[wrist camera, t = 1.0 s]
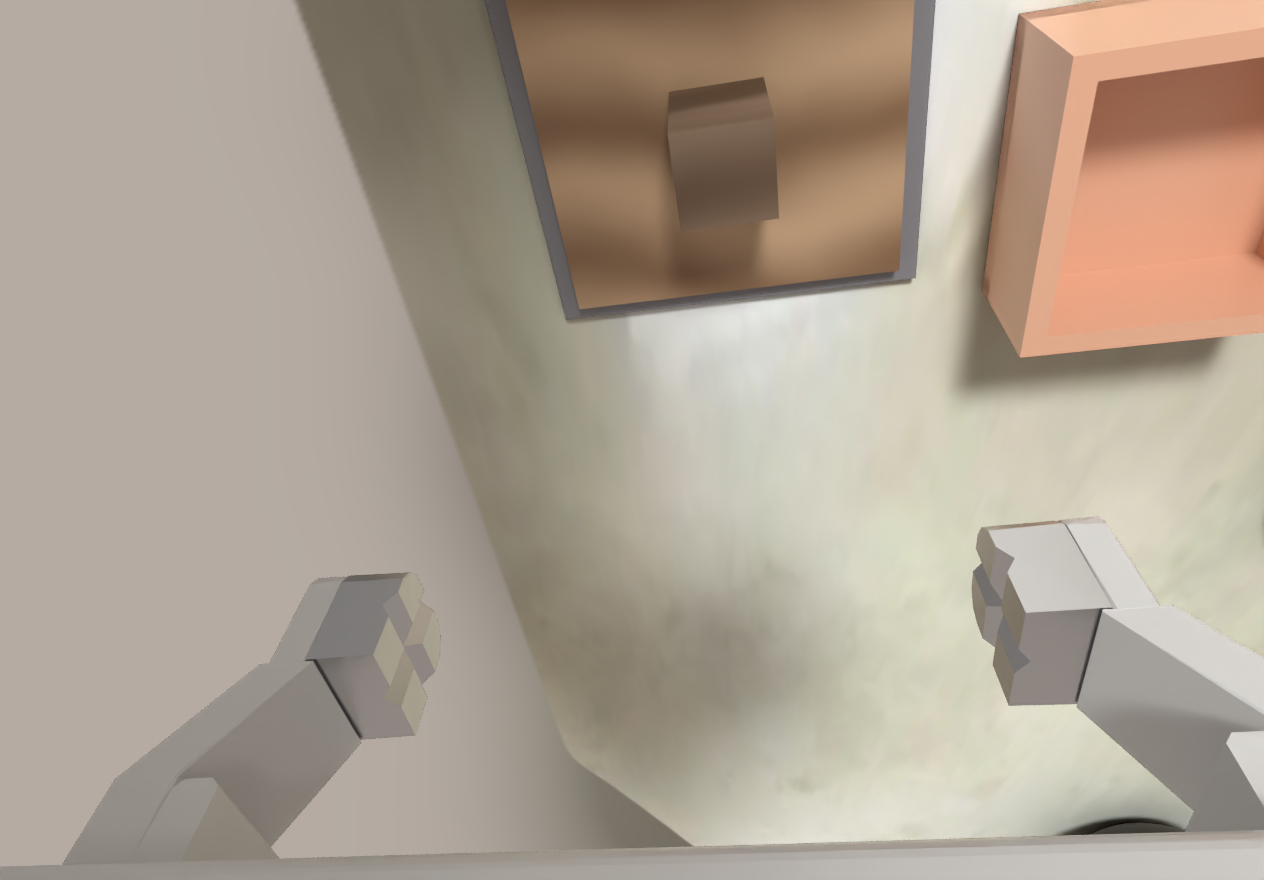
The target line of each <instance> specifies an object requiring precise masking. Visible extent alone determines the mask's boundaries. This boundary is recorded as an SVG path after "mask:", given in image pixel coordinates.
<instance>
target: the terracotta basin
mask: <svg viewBox="0 0 1264 880" xmlns="http://www.w3.org/2000/svg"><path fill="white" fill-rule="evenodd" d="M982 291H983V293H984V295H985V296H986V298H987V300H988V302H989V304H990V305H991V307H992V309H993V311H994V312H995V314H996V316H997V318H998V320H999V321H1000V323H1001V325H1002V327H1003V329H1004V330H1005V332H1006V334H1007V336H1008V337H1009V339H1010V341H1011V343H1012V345H1013V346H1014V348H1015V350H1016V352H1017V354H1018V355H1019V357H1020V358H1023V357H1033V356H1042V355H1052V354H1062V353H1071V352H1081V351H1090V350H1100V349H1110V348H1119V347H1129V346H1138V345H1148V344H1158V343H1167V342H1177V341H1187V340H1196V339H1206V338H1215V337H1225V336H1235V335H1244V334H1254V333H1263V332H1264V0H1102V1H1096V2H1089V3H1083V4H1077V5H1071V6H1064V7H1058V8H1052V9H1046V10H1040V11H1033V12H1027V13H1021V14H1019V18H1018V26H1017V33H1016V41H1015V48H1014V56H1013V63H1012V71H1011V78H1010V86H1009V93H1008V101H1007V108H1006V116H1005V123H1004V131H1003V138H1002V146H1001V153H1000V161H999V168H998V176H997V183H996V191H995V198H994V206H993V213H992V221H991V228H990V236H989V243H988V251H987V258H986V266H985V273H984V281H983V288H982Z"/></svg>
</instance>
